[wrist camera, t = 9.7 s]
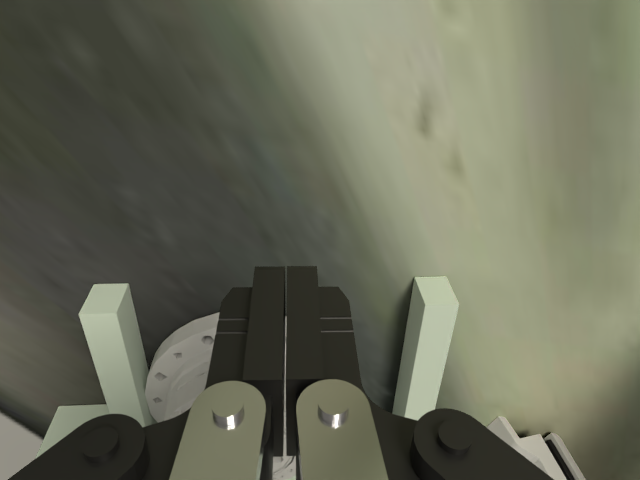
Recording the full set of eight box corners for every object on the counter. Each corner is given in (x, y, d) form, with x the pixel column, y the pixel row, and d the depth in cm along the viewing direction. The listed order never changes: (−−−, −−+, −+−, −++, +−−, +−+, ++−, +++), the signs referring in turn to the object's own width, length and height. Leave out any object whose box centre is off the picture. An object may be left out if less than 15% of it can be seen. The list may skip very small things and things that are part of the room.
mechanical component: (129, 413, 27) (295, 450, 30) (106, 490, 23) (297, 524, 26) (185, 279, 22) (374, 338, 25) (166, 350, 19) (391, 410, 22)
